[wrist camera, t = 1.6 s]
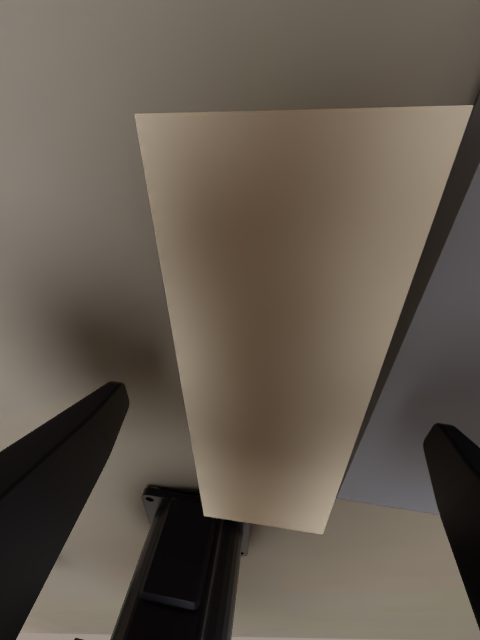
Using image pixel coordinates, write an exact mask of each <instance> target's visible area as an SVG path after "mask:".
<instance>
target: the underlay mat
mask: <svg viewBox="0 0 480 640" xmlns="http://www.w3.org/2000/svg"><path fill="white" fill-rule="evenodd" d="M436 423H443V424H450V425H453V426H455V427H456V428H458V429H459V430H460V431H461V432H462V433H463V434H465V435H466V436H467V437H468V438H469V439H470V440H472V441H473V442H474V443H475V444H476V445H477V446H479V447H480V93H479V96H478V99H477V101H476V104H475V107H474V109H473V112H472V114H471V117H470V120H469V122H468V125H467V127H466V130H465V133H464V135H463V138H462V141H461V143H460V146H459V148H458V151H457V154H456V157H455V160H454V163H453V165H452V168H451V171H450V174H449V177H448V180H447V182H446V185H445V188H444V191H443V194H442V197H441V200H440V202H439V205H438V208H437V211H436V214H435V217H434V219H433V222H432V225H431V228H430V231H429V234H428V237H427V239H426V242H425V245H424V248H423V251H422V254H421V256H420V259H419V262H418V265H417V268H416V271H415V274H414V276H413V279H412V282H411V285H410V288H409V291H408V293H407V296H406V299H405V302H404V305H403V308H402V311H401V313H400V316H399V319H398V322H397V325H396V328H395V330H394V333H393V336H392V339H391V342H390V345H389V348H388V350H387V353H386V356H385V359H384V362H383V365H382V367H381V370H380V373H379V376H378V379H377V382H376V385H375V387H374V390H373V393H372V396H371V399H370V402H369V404H368V407H367V410H366V413H365V416H364V419H363V422H362V424H361V427H360V430H359V433H358V436H357V439H356V441H355V444H354V447H353V450H352V453H351V456H350V459H349V461H348V464H347V467H346V470H345V473H344V476H343V478H342V481H341V484H340V487H339V490H338V493H337V496H336V498H337V499H344V500H350V501H356V502H362V503H369V504H375V505H381V506H387V507H393V508H400V509H406V510H412V511H418V512H425V513H431V514H437V515H440V514H439V511H438V507H437V504H436V500H435V496H434V492H433V488H432V484H431V479H430V475H429V471H428V467H427V463H426V458H425V454H424V450H423V442H424V439H425V437H426V436H427V434H428V433H429V431H430V429H431V428H432V426H433V425H434V424H436Z"/></svg>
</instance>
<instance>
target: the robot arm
mask: <svg viewBox="0 0 480 640" xmlns="http://www.w3.org/2000/svg"><path fill="white" fill-rule="evenodd" d="M128 408H129V398H128V394H127V391H126V387H125V385H124V384H123V383H122V382H114V381H111V382H108V383H107V384H105V385H103V386H102V387H100V388H99V389H97V390H96V391H94V392H93V393H91V394H89V395H88V396H86V397H85V398H83V399H82V400H80V401H79V402H77V403H75V404H74V405H72V406H71V407H69V408H68V409H66V410H65V411H63V412H61V413H60V414H58V415H57V416H55V417H54V418H52V419H51V420H49V421H47V422H46V423H44V424H43V425H41V426H40V427H38V428H37V429H35V430H33V431H32V432H30V433H29V434H27V435H26V436H24V437H23V438H21V439H19V440H18V441H16V442H15V443H13V444H12V445H10V446H9V447H7V448H5V449H4V450H2V451H1V452H0V640H16V638H17V636H18V634H19V633H20V631H21V629H22V627H23V625H24V623H25V621H26V619H27V617H28V615H29V613H30V611H31V609H32V607H33V605H34V603H35V601H36V599H37V597H38V595H39V593H40V591H41V590H42V588H43V586H44V584H45V582H46V580H47V578H48V576H49V574H50V572H51V570H52V568H53V566H54V564H55V562H56V560H57V558H58V556H59V554H60V552H61V550H62V548H63V546H64V544H65V543H66V541H67V539H68V537H69V535H70V533H71V531H72V529H73V527H74V525H75V523H76V521H77V519H78V517H79V515H80V513H81V511H82V509H83V507H84V505H85V503H86V501H87V499H88V497H89V496H90V494H91V492H92V490H93V488H94V486H95V484H96V482H97V480H98V478H99V476H100V474H101V472H102V470H103V468H104V466H105V464H106V462H107V460H108V458H109V456H110V454H111V451H112V449H113V446H114V444H115V441H116V439H117V436H118V434H119V431H120V428H121V426H122V423H123V421H124V418H125V416H126V413H127V410H128ZM423 450H424V454H425V458H426V463H427V467H428V471H429V475H430V479H431V484H432V488H433V492H434V496H435V500H436V504H437V507H438V511H439V514H440V517H441V520H442V523H443V526H444V528H445V531H446V534H447V537H448V540H449V543H450V546H451V549H452V552H453V554H454V557H455V560H456V563H457V566H458V569H459V572H460V575H461V578H462V580H463V583H464V586H465V589H466V592H467V595H468V598H469V601H470V604H471V606H472V609H473V612H474V615H475V618H476V621H477V624H478V627H479V630H480V447H479V446H477V445H476V444H475V443H474V442H473V441H472V440H470V439H469V438H468V437H467V436H466V435H465V434H463V433H462V432H461V431H460V430H459V429H458V428H456V427H455V426H453V425H450V424H443V423H436V424H434V425H433V426H432V428H431V429H430V431H429V433H428V434H427V436H426V437H425V439H424V442H423ZM142 501H143V504H144V507H145V510H146V512H147V515H148V518H149V521H150V524H151V527H150V529H149V532H148V535H147V538H146V541H145V544H144V546H143V549H142V552H141V555H140V558H139V560H138V563H137V566H136V569H135V572H134V575H133V577H132V580H131V583H130V586H129V589H128V591H127V594H126V597H125V600H124V603H123V605H122V608H121V611H120V614H119V617H118V620H117V622H116V625H115V628H114V631H113V634H112V636H111V640H231V636H232V627H233V618H234V610H235V601H236V592H237V583H238V574H239V565H240V557H241V556H246V555H247V554H248V545H249V534H250V524H251V523H246V522H239V521H233V520H226V519H220V518H213V517H207V516H204V513H203V508H202V502H201V496H196V495H190V494H184V493H178V492H172V491H166V490H160V489H154V488H146V489H144V492H143V494H142ZM74 640H82V639H79V638H75V639H74Z"/></svg>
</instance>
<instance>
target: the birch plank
mask: <svg viewBox="0 0 480 640" xmlns="http://www.w3.org/2000/svg"><path fill="white" fill-rule="evenodd" d="M473 106H474V105H455V106H416V107H377V108H338V109H299V110H261V111H222V112H183V113H144V114H134V116H135V121H136V127H137V133H138V139H139V144H140V150H141V156H142V162H143V167H144V173H145V179H146V185H147V191H148V196H149V202H150V208H151V214H152V219H153V225H154V231H155V237H156V242H157V248H158V254H159V260H160V266H161V271H162V277H163V283H164V289H165V294H166V300H167V306H168V312H169V317H170V323H171V329H172V335H173V340H174V346H175V352H176V358H177V364H178V369H179V375H180V381H181V387H182V392H183V398H184V404H185V410H186V415H187V421H188V427H189V433H190V438H191V444H192V450H193V456H194V462H195V467H196V473H197V479H198V485H199V490H200V496H201V502H202V508H203V513H204V516H207V517H213V518H220V519H226V520H233V521H239V522H246V523H252V524H258V525H265V526H271V527H278V528H284V529H290V530H297V531H303V532H310V533H316V534H323V533H324V530H325V527H326V524H327V521H328V518H329V515H330V513H331V510H332V507H333V504H334V501H335V498H336V496H337V493H338V490H339V487H340V484H341V481H342V478H343V476H344V473H345V470H346V467H347V464H348V461H349V459H350V456H351V453H352V450H353V447H354V444H355V441H356V439H357V436H358V433H359V430H360V427H361V424H362V422H363V419H364V416H365V413H366V410H367V407H368V404H369V402H370V399H371V396H372V393H373V390H374V387H375V385H376V382H377V379H378V376H379V373H380V370H381V367H382V365H383V362H384V359H385V356H386V353H387V350H388V348H389V345H390V342H391V339H392V336H393V333H394V330H395V328H396V325H397V322H398V319H399V316H400V313H401V311H402V308H403V305H404V302H405V299H406V296H407V293H408V291H409V288H410V285H411V282H412V279H413V276H414V274H415V271H416V268H417V265H418V262H419V259H420V256H421V254H422V251H423V248H424V245H425V242H426V239H427V237H428V234H429V231H430V228H431V225H432V222H433V219H434V217H435V214H436V211H437V208H438V205H439V202H440V200H441V197H442V194H443V191H444V188H445V185H446V182H447V180H448V177H449V174H450V171H451V168H452V165H453V163H454V160H455V157H456V154H457V151H458V148H459V145H460V143H461V140H462V137H463V134H464V131H465V128H466V126H467V123H468V120H469V117H470V114H471V111H472V108H473Z"/></svg>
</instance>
